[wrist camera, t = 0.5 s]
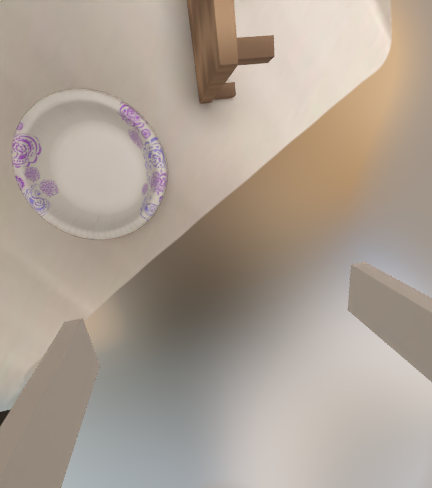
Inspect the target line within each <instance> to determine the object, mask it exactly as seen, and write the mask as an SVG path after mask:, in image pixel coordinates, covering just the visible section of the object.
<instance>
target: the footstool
mask: <svg viewBox="0 0 432 488" xmlns="http://www.w3.org/2000/svg"><path fill="white" fill-rule="evenodd" d="M187 4H188V12H189V20H190V29H191V37H192V45H193V53H194V61H195V69H196V77H197V85H198V93H199V101H200V103H209V102H212V100H213V99H223V98H233V97H234V96H235V95H236V92H235V82H232V83H225V82H226V81H227V79H228V78H229V76H230V75H231V74H232V72H233V71H234V69H235V68H236V67H237V65H247V64H260V63H268V62H269V61H270V60H271V59H272V58H273V57H274V35H272V36H257V37H242V38H237V37H236V24H235V11H234V0H187Z"/></svg>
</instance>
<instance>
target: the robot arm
mask: <svg viewBox="0 0 432 488" xmlns="http://www.w3.org/2000/svg"><path fill="white" fill-rule="evenodd" d="M348 311H350V312H351V313H352V314H353V315H354V316H355V317H357V318H358V319H359V320H360V321H361V322H362V323H364V324H365V325H366V326H367V327H368V328H369V329H370V330H372V331H373V332H374V333H375V334H377V336H379V337H380V338H381V339H382V340H383V341H385V342H386V343H387V344H388V345H389V346H390V347H391V348H393V349H394V350H395V351H396V352H397V353H399V354H400V355H401V356H402V357H403V358H404V359H406V360H407V361H408V362H409V363H410V364H411V365H412V366H414V367H415V368H416V369H417V370H418V371H419V372H421V373H422V374H423V375H424V376H426V378H428V379H429V380H430V381H431V382H432V298H430V297H429V296H426V295H425V294H423V293H421V292H419V291H417V290H416V289H414V288H412V287H410V286H408V285H406V284H404V283H403V282H401V281H399V280H397V279H395V278H393V277H392V276H390V275H388V274H386V273H384V272H382V271H380V270H379V269H376V268H375V267H373V266H371V265H369V264H367V263H365V262H362V263H357V264H352V265H351V274H350V288H349V300H348ZM99 368H100V364H99V362H98V359H97V356H96V353H95V351H94V348H93V345H92V343H91V340H90V337H89V334H88V332H87V329H86V326H85V323H84V321H83V319H78V320H73V321H68V322H65V323H64V324H63V326H62V327H61V329H60V331H59V332H58V334H57V335H56V337H55V339H54V340H53V342H52V344H51V345H50V347H49V348H48V350H47V352H46V353H45V355H44V357H43V358H42V360H41V361H40V363H39V365H38V366H37V368H36V370H35V372H34V373H33V374H32V376H31V378H30V379H29V381H28V382H27V384H26V386H25V387H24V389H23V391H22V392H21V394H20V395H19V397H18V399H17V400H16V402H15V404H14V405H13V407H12V408H11V410H7V411H2V412H0V488H61V486H62V483H63V479H64V477H65V473H66V470H67V467H68V464H69V461H70V458H71V455H72V452H73V449H74V445H75V442H76V439H77V436H78V433H79V430H80V427H81V423H82V420H83V417H84V414H85V411H86V408H87V405H88V402H89V398H90V396H91V392H92V389H93V386H94V383H95V380H96V377H97V374H98V371H99Z"/></svg>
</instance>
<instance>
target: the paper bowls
mask: <svg viewBox="0 0 432 488" xmlns="http://www.w3.org/2000/svg"><path fill="white" fill-rule="evenodd" d="M12 162H13V168H14V173H15V177H16V180H17V183H18V185H19V188H20V189H21V191H22V193H23V195H24V196H25V198H26V200H27V201H28V203H29V204H30V205H31V207H32V208H33V209H34V210H35V211H36V212H37V213H38V214H39V215H40V216H41V217H42V218H43V219H45V220H46V221H47V222H49V223H50V224H51V225H53V226H55V227H56V228H58V229H60V230H62V231H64V232H66V233H68V234H71V235H73V236H77V237H80V238H86V239H91V240H107V239H114V238H118V237H122V236H125V235H127V234H130V233H132V232H134V231H136V230H137V229H139V228H140V227H142V226H143V225H144V224H146V223H147V222H148V221H149V220H150V219H151V218H152V216H153V215H154V214H155V212H156V211H157V209H158V208H159V206H160V204H161V202H162V199H163V197H164V194H165V190H166V186H167V179H168V167H167V161H166V157H165V153H164V150H163V148H162V145H161V143H160V141H159V139H158V137H157V135H156V133H155V132H154V130H153V129H152V127H151V126H150V125H149V123H148V122H147V121H146V120H145V119H144V118H143V117H142V116H141V115H140V114H139V113H138V112H137V111H136V110H135V109H133V108H132V107H131V106H129V105H128V104H127V103H125V102H124V101H122V100H120V99H118V98H116V97H114V96H112V95H110V94H107V93H104V92H101V91H97V90H91V89H68V90H62V91H58V92H56V93H53V94H50V95H48V96H46V97H44V98H42V99H41V100H39V101H38V102H37V103H35V104H34V105H33V106H32V107H31V108H30V109H29V110H28V111H27V112H26V114H25V115H24V116H23V118H22V119H21V121H20V123H19V125H18V127H17V130H16V132H15V135H14V139H13V145H12Z"/></svg>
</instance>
